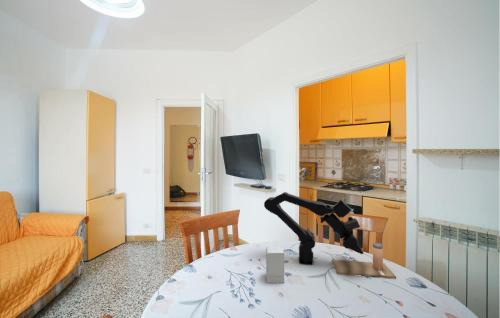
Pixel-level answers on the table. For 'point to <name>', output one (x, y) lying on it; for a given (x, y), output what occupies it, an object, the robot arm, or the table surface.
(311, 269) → the table surface
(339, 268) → the board
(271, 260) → the supplement box
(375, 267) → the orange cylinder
